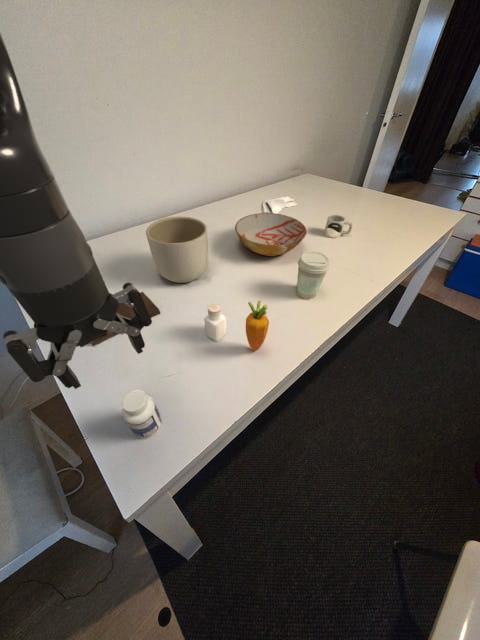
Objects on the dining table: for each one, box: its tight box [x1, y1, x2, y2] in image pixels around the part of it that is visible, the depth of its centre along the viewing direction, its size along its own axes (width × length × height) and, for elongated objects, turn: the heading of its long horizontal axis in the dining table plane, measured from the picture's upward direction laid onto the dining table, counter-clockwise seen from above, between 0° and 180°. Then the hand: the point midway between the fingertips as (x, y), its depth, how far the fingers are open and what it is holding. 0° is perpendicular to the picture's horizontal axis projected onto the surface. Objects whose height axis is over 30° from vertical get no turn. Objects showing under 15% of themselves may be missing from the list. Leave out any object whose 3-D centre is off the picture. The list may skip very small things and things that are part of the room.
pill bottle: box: [121, 389, 163, 439], centre depth 46 cm, size 5×5×10 cm
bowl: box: [234, 212, 308, 257], centre depth 94 cm, size 25×25×8 cm
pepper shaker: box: [204, 302, 227, 342], centre depth 63 cm, size 4×4×10 cm
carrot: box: [245, 300, 270, 352], centre depth 58 cm, size 5×5×15 cm
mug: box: [323, 214, 354, 239], centre depth 103 cm, size 10×7×7 cm, turn 76°
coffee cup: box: [296, 251, 330, 300], centre depth 75 cm, size 8×8×12 cm
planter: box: [145, 216, 209, 284], centre depth 80 cm, size 17×17×15 cm
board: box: [90, 291, 161, 347], centre depth 69 cm, size 18×10×2 cm, turn 131°
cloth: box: [262, 196, 298, 214], centre depth 125 cm, size 26×14×2 cm, turn 135°
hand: (108, 365), depth 36 cm, fingers open, 8 cm apart
